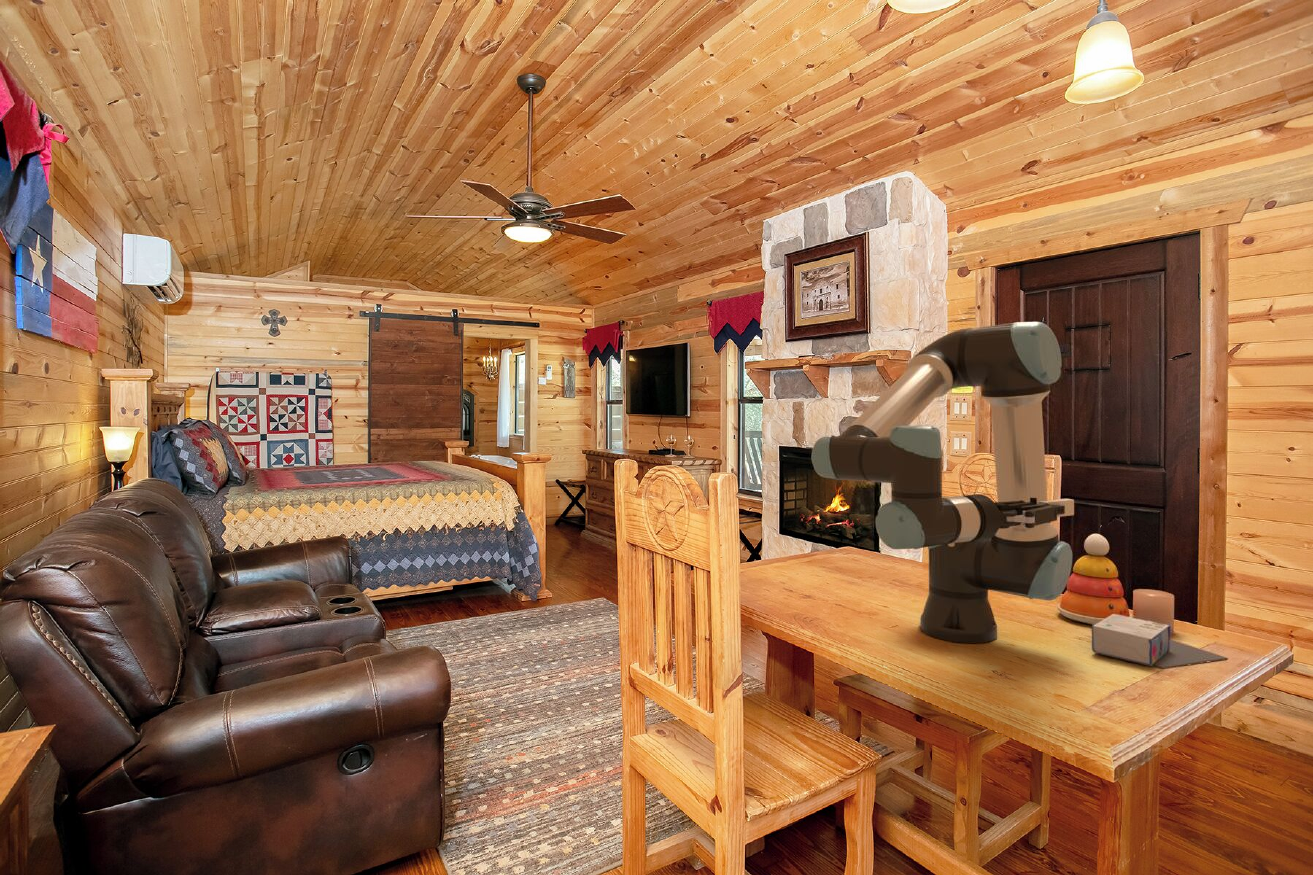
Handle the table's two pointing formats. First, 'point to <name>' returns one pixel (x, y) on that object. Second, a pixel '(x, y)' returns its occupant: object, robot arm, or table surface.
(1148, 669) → the table surface
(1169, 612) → the pink pillar candle
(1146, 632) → the ink cartridge box
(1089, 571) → the stacking toy
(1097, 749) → the table surface
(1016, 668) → the table surface
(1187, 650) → the mat
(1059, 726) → the table surface
